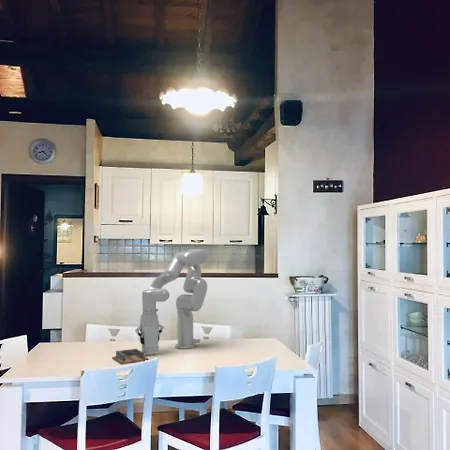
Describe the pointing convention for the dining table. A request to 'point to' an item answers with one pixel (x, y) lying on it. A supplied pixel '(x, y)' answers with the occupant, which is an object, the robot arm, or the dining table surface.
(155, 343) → the skincare box
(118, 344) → the dining table surface
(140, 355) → the u rest
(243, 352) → the dining table surface
